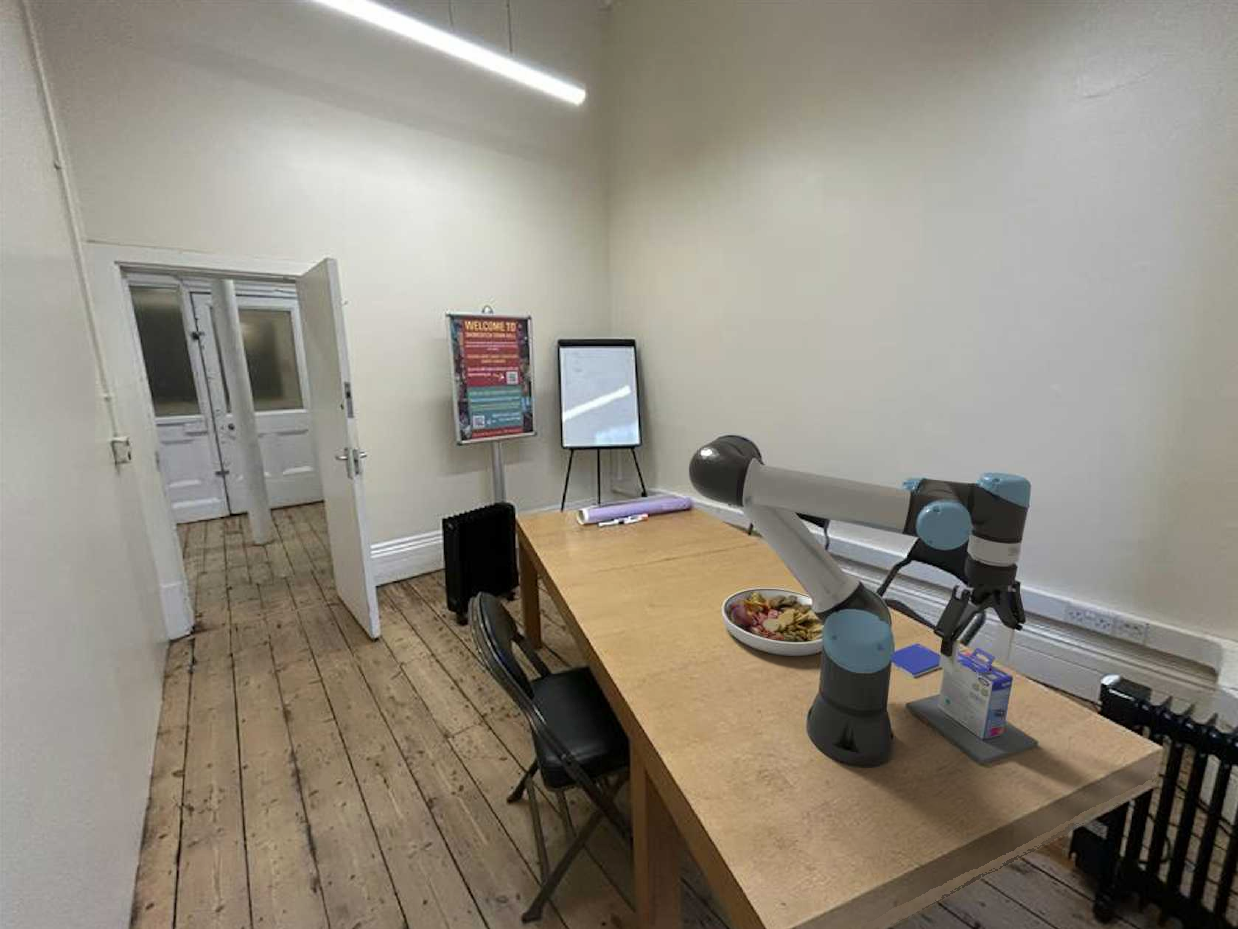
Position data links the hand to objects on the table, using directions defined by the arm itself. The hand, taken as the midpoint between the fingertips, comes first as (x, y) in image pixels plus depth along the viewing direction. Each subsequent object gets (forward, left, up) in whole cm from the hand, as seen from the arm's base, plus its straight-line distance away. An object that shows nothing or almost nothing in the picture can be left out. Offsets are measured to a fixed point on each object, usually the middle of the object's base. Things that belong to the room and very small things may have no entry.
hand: (974, 663), depth 97 cm
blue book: (+9, +20, -14) cm, 26 cm away
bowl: (-13, +43, -14) cm, 47 cm away
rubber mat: (0, 0, -13) cm, 13 cm away
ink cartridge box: (+1, 0, -13) cm, 13 cm away
